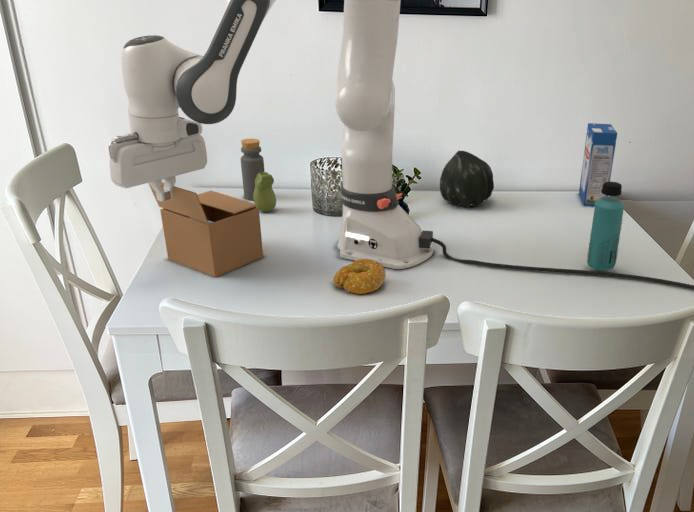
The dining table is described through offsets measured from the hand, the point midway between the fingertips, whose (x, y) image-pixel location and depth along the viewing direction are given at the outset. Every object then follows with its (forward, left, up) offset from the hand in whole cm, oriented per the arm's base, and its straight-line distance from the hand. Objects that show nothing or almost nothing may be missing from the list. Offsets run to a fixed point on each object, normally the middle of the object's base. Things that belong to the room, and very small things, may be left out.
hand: (165, 199), depth 148 cm
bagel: (-34, -19, -16) cm, 42 cm away
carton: (0, -11, -16) cm, 19 cm away
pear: (+13, -39, -16) cm, 44 cm away
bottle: (+23, -45, -16) cm, 53 cm away
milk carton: (-49, -103, -16) cm, 115 cm away
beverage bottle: (-71, -58, -16) cm, 93 cm away
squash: (-23, -78, -16) cm, 83 cm away
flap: (0, -3, -1) cm, 3 cm away
